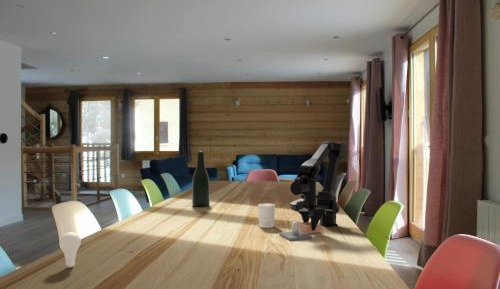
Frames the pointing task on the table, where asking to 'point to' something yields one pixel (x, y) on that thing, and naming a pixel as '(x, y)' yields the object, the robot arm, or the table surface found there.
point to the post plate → (296, 237)
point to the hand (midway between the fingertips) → (309, 228)
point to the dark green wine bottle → (200, 184)
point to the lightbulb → (70, 247)
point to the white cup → (266, 215)
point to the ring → (309, 227)
